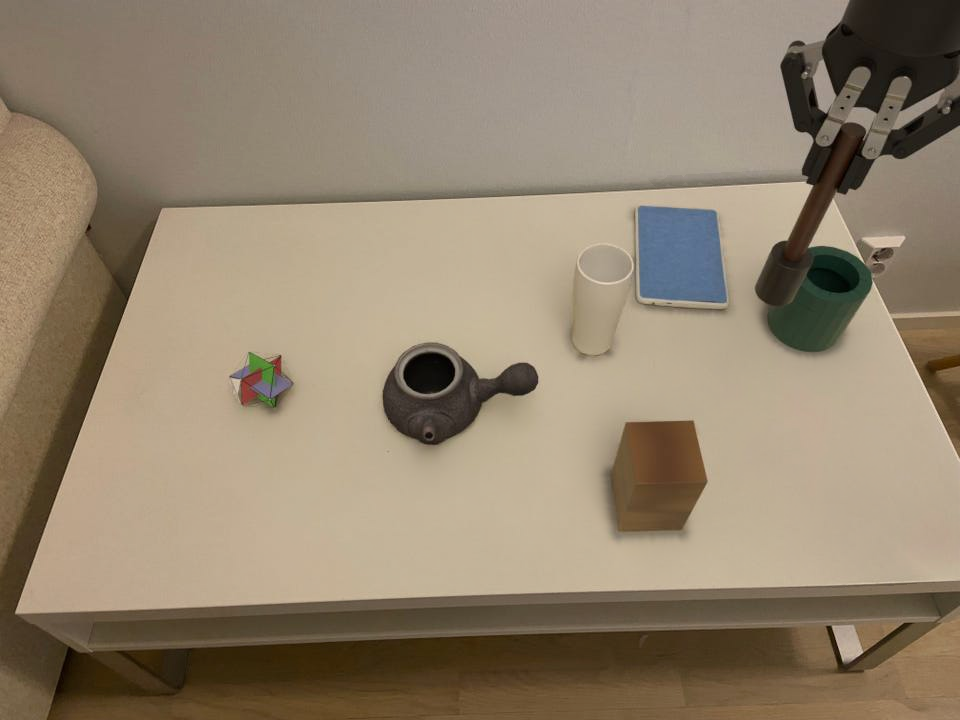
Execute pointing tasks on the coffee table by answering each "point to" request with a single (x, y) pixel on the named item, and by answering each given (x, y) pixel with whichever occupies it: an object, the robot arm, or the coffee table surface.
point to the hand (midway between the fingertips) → (828, 182)
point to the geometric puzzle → (259, 380)
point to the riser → (657, 475)
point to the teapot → (444, 391)
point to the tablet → (680, 258)
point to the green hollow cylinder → (822, 301)
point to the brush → (807, 224)
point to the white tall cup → (599, 296)
